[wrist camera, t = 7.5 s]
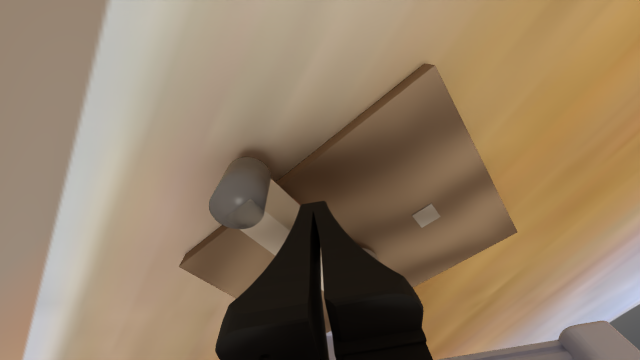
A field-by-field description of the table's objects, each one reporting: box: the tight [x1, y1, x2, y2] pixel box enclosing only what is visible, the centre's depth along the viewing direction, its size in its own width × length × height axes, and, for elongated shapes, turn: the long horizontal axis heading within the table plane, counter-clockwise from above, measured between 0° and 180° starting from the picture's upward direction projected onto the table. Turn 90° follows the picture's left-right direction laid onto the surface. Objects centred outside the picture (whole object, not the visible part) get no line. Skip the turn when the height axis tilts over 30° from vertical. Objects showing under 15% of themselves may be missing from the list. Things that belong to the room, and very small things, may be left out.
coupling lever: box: [209, 157, 379, 291], centre depth 15 cm, size 14×4×3 cm, turn 38°
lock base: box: [179, 64, 517, 333], centre depth 19 cm, size 16×22×2 cm
